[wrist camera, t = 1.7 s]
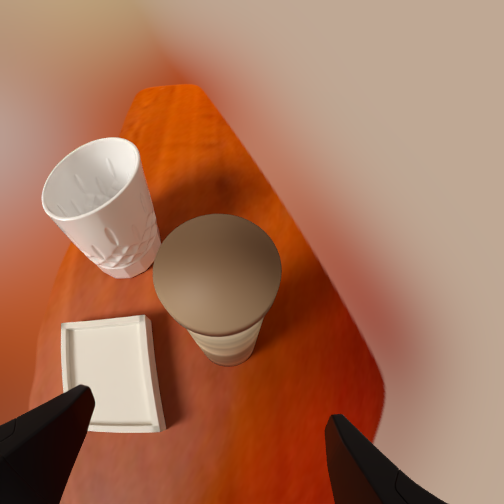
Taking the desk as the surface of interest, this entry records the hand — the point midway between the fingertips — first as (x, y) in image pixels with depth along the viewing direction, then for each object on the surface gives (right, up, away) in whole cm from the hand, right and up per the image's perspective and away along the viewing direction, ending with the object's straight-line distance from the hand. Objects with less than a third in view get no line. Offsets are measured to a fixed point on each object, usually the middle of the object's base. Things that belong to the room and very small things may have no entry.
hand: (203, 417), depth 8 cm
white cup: (-10, +6, +17) cm, 20 cm away
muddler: (0, -1, +13) cm, 13 cm away
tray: (-10, -4, +10) cm, 15 cm away
